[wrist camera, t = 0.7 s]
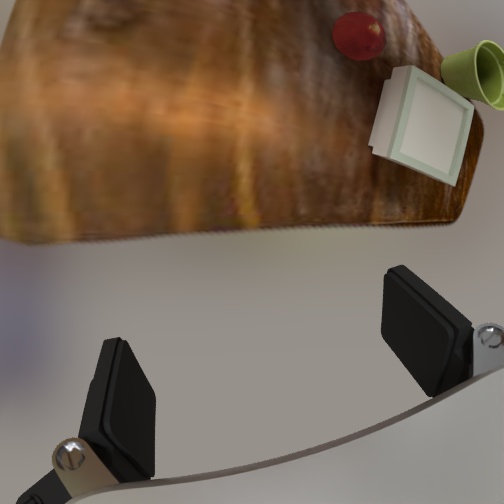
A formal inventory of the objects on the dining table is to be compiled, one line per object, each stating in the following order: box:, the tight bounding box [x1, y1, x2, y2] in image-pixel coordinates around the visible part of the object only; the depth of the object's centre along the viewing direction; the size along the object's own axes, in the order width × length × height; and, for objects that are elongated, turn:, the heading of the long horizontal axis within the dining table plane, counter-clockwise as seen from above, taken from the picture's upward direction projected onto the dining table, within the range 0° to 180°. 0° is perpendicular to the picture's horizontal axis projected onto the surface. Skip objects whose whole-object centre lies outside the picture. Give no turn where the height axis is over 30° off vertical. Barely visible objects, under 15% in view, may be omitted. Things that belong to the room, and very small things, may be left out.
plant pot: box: [441, 40, 504, 110], centre depth 30 cm, size 9×9×9 cm
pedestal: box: [368, 65, 475, 187], centre depth 33 cm, size 11×11×7 cm
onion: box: [332, 12, 386, 61], centre depth 27 cm, size 6×6×8 cm
